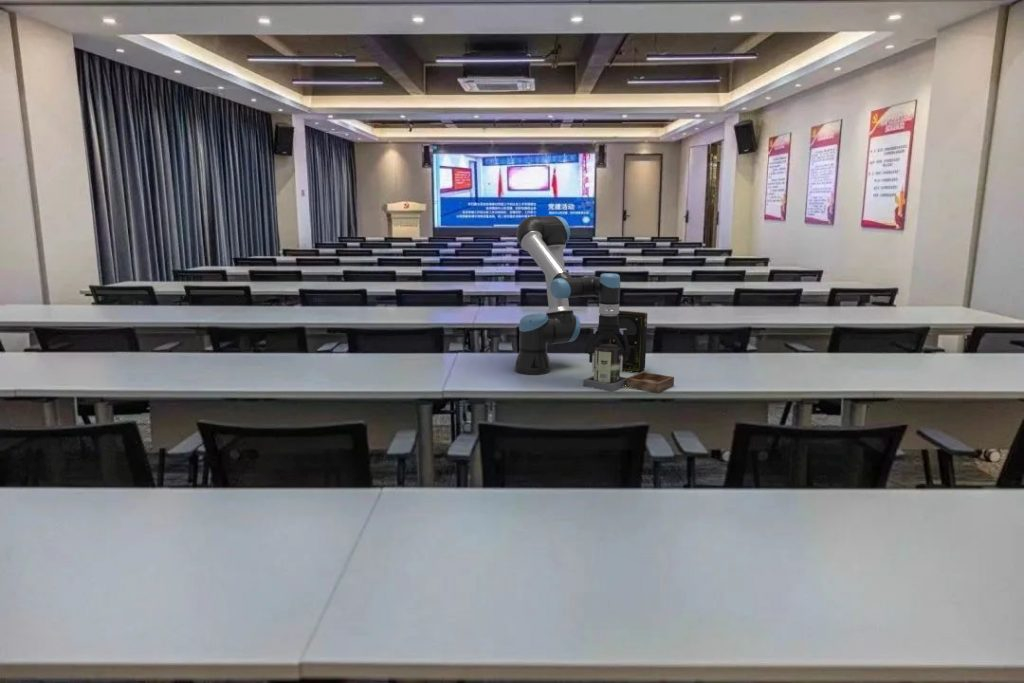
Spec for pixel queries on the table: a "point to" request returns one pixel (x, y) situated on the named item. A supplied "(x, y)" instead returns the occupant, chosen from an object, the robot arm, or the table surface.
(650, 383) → the walnut tray
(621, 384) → the checker cradle
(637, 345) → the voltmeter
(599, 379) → the coffee can
